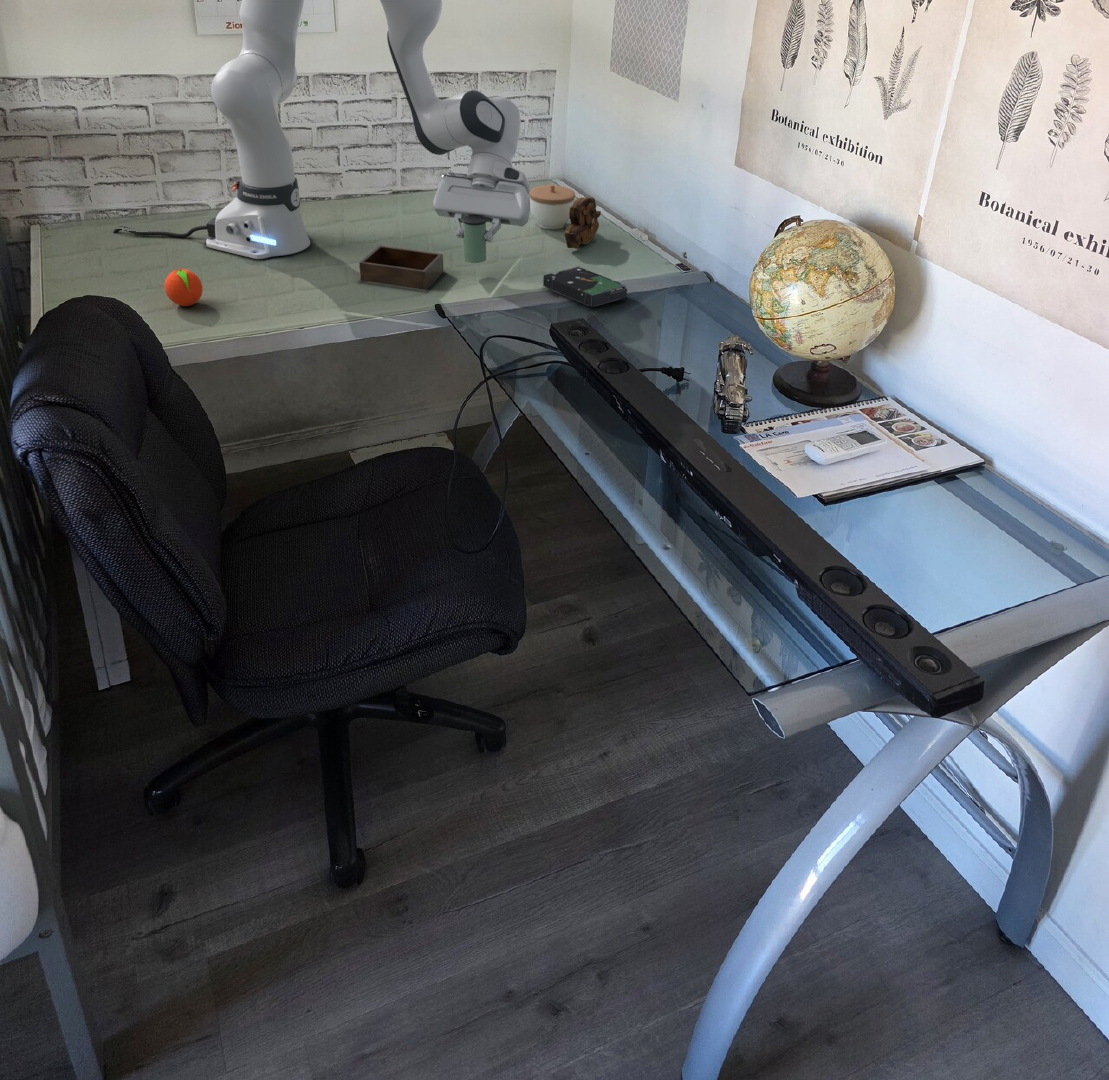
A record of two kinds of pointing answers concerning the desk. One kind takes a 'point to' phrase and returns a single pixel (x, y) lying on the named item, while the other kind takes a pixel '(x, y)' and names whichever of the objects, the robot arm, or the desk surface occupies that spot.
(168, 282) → the clementine
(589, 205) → the wooden carving
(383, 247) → the walnut box
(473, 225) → the cylinder
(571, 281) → the disk drive
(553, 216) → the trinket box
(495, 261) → the desk surface
